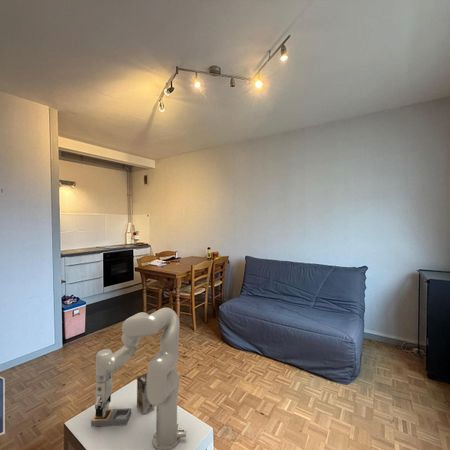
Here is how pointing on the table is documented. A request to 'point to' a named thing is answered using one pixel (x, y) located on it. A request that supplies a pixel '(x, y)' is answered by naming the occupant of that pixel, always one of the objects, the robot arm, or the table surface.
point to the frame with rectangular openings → (113, 418)
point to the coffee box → (143, 395)
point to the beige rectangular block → (104, 410)
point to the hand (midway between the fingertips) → (103, 409)
